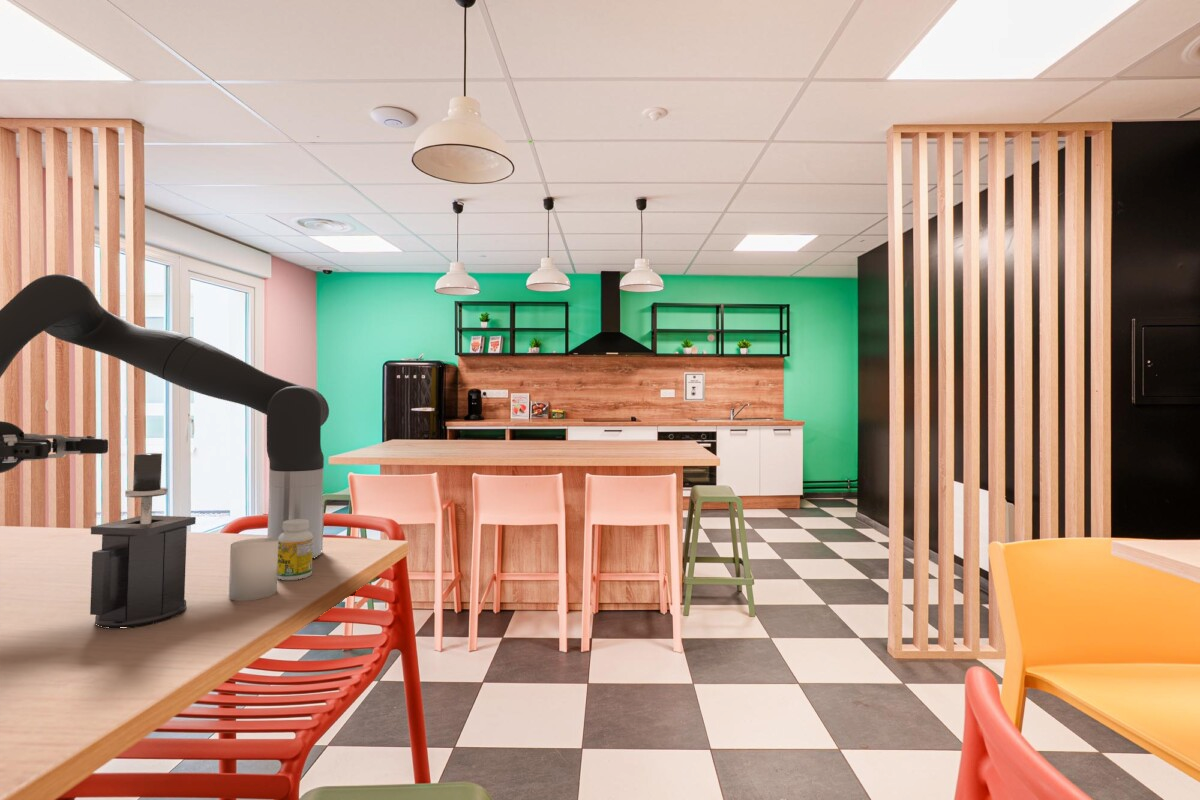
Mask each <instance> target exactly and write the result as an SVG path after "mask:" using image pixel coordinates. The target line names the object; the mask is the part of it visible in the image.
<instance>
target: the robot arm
mask: <svg viewBox="0 0 1200 800" xmlns="http://www.w3.org/2000/svg"><path fill="white" fill-rule="evenodd" d="M42 332H45V333H46V334H48V335H50V336H51V337H53V338H56V339H58V340H61V341H64V342H67V343H70V344H73V345H76V346H80V347H83V348H86V349H89V350H92V351H96V352H99V353H102V354H105V355H108V356H111V357H113V358H115V359H118V360H119V361H122V362H124V363H126V364H128V365H131V366H133V367H135V368H137V369H140V370H141V371H145V372H147V373H149V374H151V375H154V376H155V377H158V378H160V379H161V380H163V381H167V382H168V383H171V384H174V385H176V386H179V387H181V388H184V389H186V390H188V391H192V392H195V393H196V394H197V393H198V394H200V395H205V396H207V397H211V398H215V399H218V400H223V401H227V402H231V403H233V404H234V403H235V404H239V405H242V406H245V407H248V408H250V409H254V410H255V411H257V412H260V413H261V414H263V415H266V452H267V457H268V461H269V476H268V508H267V509H268V511H267V512H268V513H267V536H266V538H274V539H277V540H278V537H279V536H280V535H281V534H282V533H284V531H283V529H282V525H283V522H284V521H287V520H293V519H307V520H309V527H308V529H307V531H309V532H311V533H312V535H313V554H312V558H314V557H316V556H318V555H320V554H322V552H321V550H322V551H323V547H324V546H323V543H324V542H323V539H324V511H325V506H324V504H323V496H324V495H323V494H324V493H323V491H324V465H325V456H324V454H323V451H322V445H321V443H322V442H321V439H322V438H321V434H322V433H321V431H322V428H321V427H322V426H323V425H324V424H325V423H326V422H327V420H328V418H329V414H330V408H329V404H328V402H327V400H326V398H325V397H324V395H323V394H322V393H320V392H319V391H317V390H316V389H314V388H312V387H308V386H303V385H300V384H297V383H293V382H291V381H288V380H285V379H282V378H279V377H276V376H273V375H271V374H268V373H266V372H263V370H260V369H258V368H256V367H255V366H252V365H251V364H249V363H248V362H245V361H243V359H242V360H241V359H240V358H238V357H237V356H234V355H232V354H230V353H228V352H226V351H224V350H222V349H220V348H218V347H216V346H214V345H212V344H209V343H206V342H205V341H203V340H200V339H198V338H196V337H193V336H191V335H188V334H185V333H182V332H179V331H173V330H166V329H158V328H157V329H156V328H148V327H143V326H140V325H137V324H135V323H133V322H130V321H128V320H126V319H124V318H122V317H120V316H117V315H115V314H114V313H112V312H110V311H109V310H107V309H105V308H104V307H103V306H102V305H100V302H99V301H98V299H97V298H96V297H95V295H94V293H93V292H92V290H91V289H90V287H89V286H88V285H87V284H86V283H85V282H84V281H83V280H82V279H80V278H77V277H75V276H71V275H69V274H62V273H60V274H59V273H54V274H53V273H52V274H46V275H44V276H41V277H38V278H37V279H33V281H31V282H30V283H28V284H27V285H26V286H25V287H24V288H22V289H21V290H20V291H19V292H18V293H17V294H16V295H15V296H13V297H12V298H11V300H9V302H7V303H6V304H5V305H4V306H3V307H2V308H1V309H0V378H2V376H3V375H4V374H5V372H6V370H7V369H8V368H9V366H10V365H11V363H12V362H13V360H14V359H15V358H16V356H17V355H18V354H19V352H21V350H22V349H23V348H25V346H26V345H27V344H28V343H29V342H30V341H32V339H34V338H36V337H37V336H38V335H40V334H41V333H42ZM49 439H50V440H49ZM51 439H52V441H51ZM108 451H109V441H108V439H106V438H95V436H92V435H87V436H66V435H65V434H40V433H38V432H37V433H31V432H30V433H25V432H24V431H23V430H22V429H21V428H20V427H18V425H15V424H13V423H11V422H7V421H1V420H0V474H1V473H6V472H8V471H11V470H13V469H14V468H16V467H17V466H19V464H21V462H25V461H26V462H27V461H28V462H29V461H37V460H47V459H62V458H64V457H66V455H79V456H81V455H85V454H86V455H89V454H90V455H91V454H93V455H94V454H95V455H97V454H100V455H101V454H107V453H108ZM51 452H52V453H51ZM50 453H51V454H50ZM320 556H321V555H320ZM314 559H315V558H314Z"/></svg>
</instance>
